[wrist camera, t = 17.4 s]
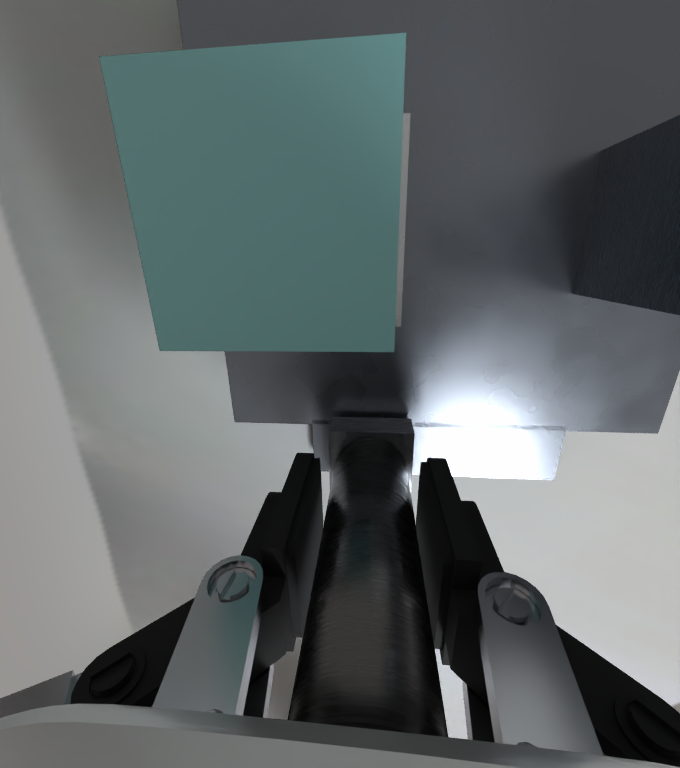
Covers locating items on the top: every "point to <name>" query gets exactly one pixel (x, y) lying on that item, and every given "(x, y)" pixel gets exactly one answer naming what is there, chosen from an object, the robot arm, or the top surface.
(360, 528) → the lever
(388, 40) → the teal cube block
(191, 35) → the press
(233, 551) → the top surface
